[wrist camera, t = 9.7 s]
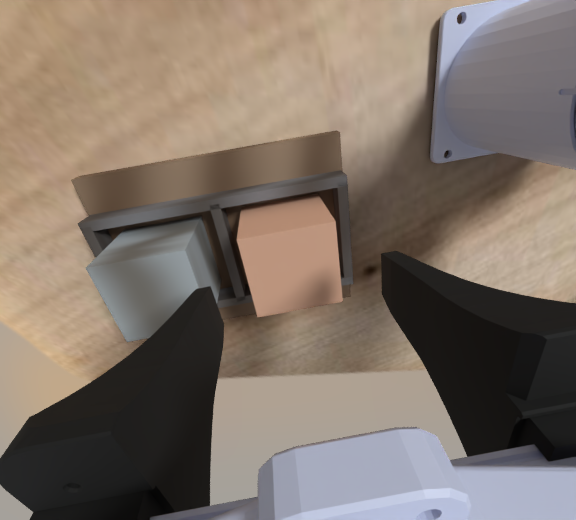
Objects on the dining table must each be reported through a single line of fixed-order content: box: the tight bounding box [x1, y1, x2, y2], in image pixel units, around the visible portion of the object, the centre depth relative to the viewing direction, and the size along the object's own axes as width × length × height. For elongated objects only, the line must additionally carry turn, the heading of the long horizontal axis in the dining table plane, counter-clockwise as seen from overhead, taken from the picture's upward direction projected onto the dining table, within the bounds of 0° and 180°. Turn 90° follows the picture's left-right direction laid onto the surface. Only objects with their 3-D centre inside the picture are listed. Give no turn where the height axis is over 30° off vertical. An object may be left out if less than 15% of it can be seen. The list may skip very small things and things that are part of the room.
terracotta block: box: [237, 194, 343, 317], centre depth 18 cm, size 5×5×5 cm
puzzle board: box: [71, 131, 353, 342], centre depth 19 cm, size 16×12×6 cm
